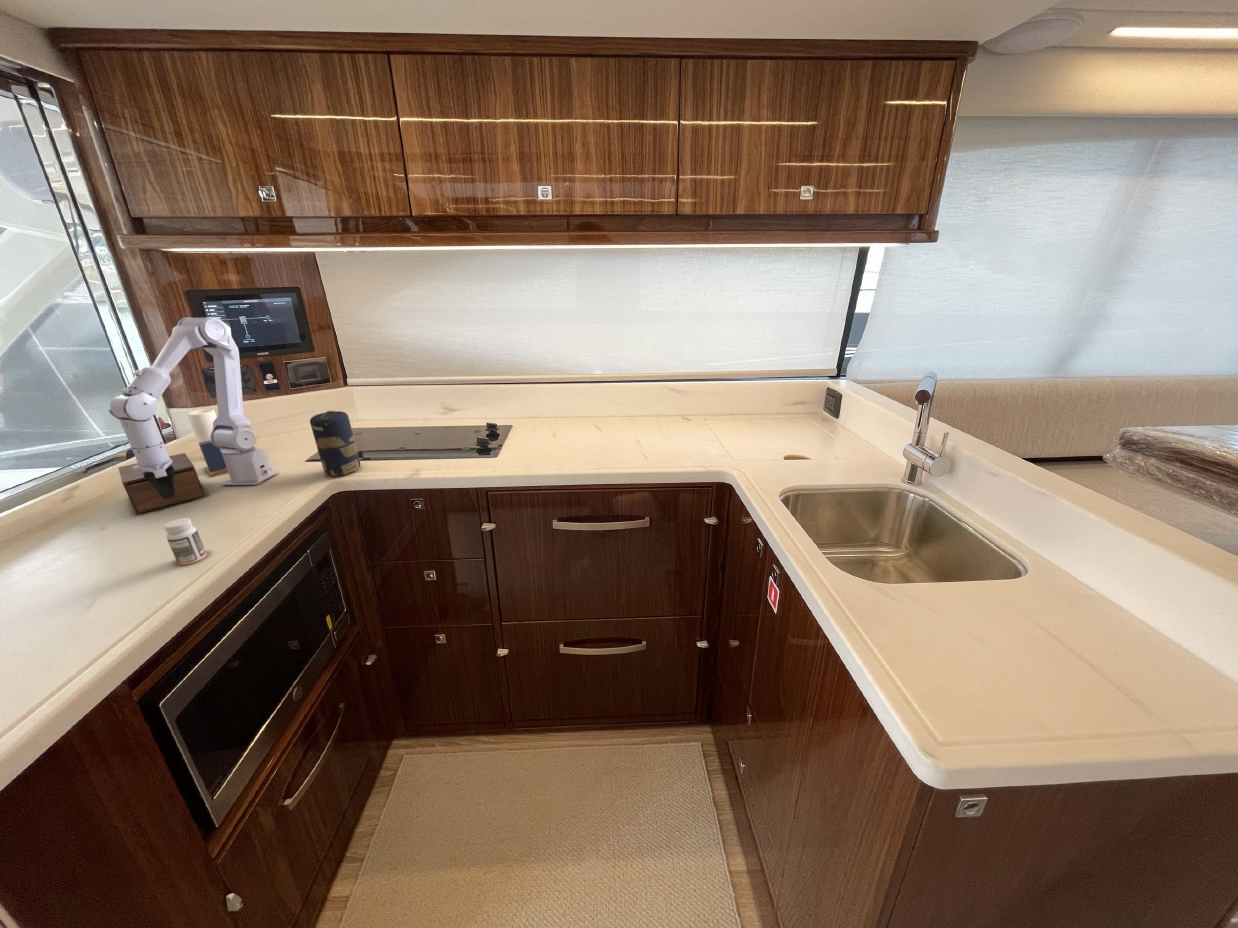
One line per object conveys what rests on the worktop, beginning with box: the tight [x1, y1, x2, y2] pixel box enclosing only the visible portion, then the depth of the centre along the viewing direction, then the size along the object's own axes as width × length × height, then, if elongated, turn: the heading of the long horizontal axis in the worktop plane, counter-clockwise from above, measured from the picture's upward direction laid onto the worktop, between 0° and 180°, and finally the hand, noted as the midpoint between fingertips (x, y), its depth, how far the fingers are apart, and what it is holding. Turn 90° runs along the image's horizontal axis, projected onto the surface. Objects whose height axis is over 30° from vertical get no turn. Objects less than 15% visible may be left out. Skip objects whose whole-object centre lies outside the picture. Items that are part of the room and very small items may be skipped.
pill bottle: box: [163, 517, 207, 566], centre depth 100 cm, size 5×5×8 cm
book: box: [198, 440, 227, 472], centre depth 149 cm, size 3×9×8 cm, turn 136°
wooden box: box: [118, 452, 206, 515], centre depth 130 cm, size 16×14×9 cm
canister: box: [309, 410, 361, 477], centre depth 140 cm, size 10×10×18 cm
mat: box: [204, 466, 229, 477], centre depth 151 cm, size 10×10×1 cm
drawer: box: [128, 470, 202, 512], centre depth 128 cm, size 16×12×7 cm
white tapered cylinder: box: [187, 408, 218, 443], centre depth 158 cm, size 7×7×15 cm
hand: (169, 497), depth 123 cm, fingers closed
